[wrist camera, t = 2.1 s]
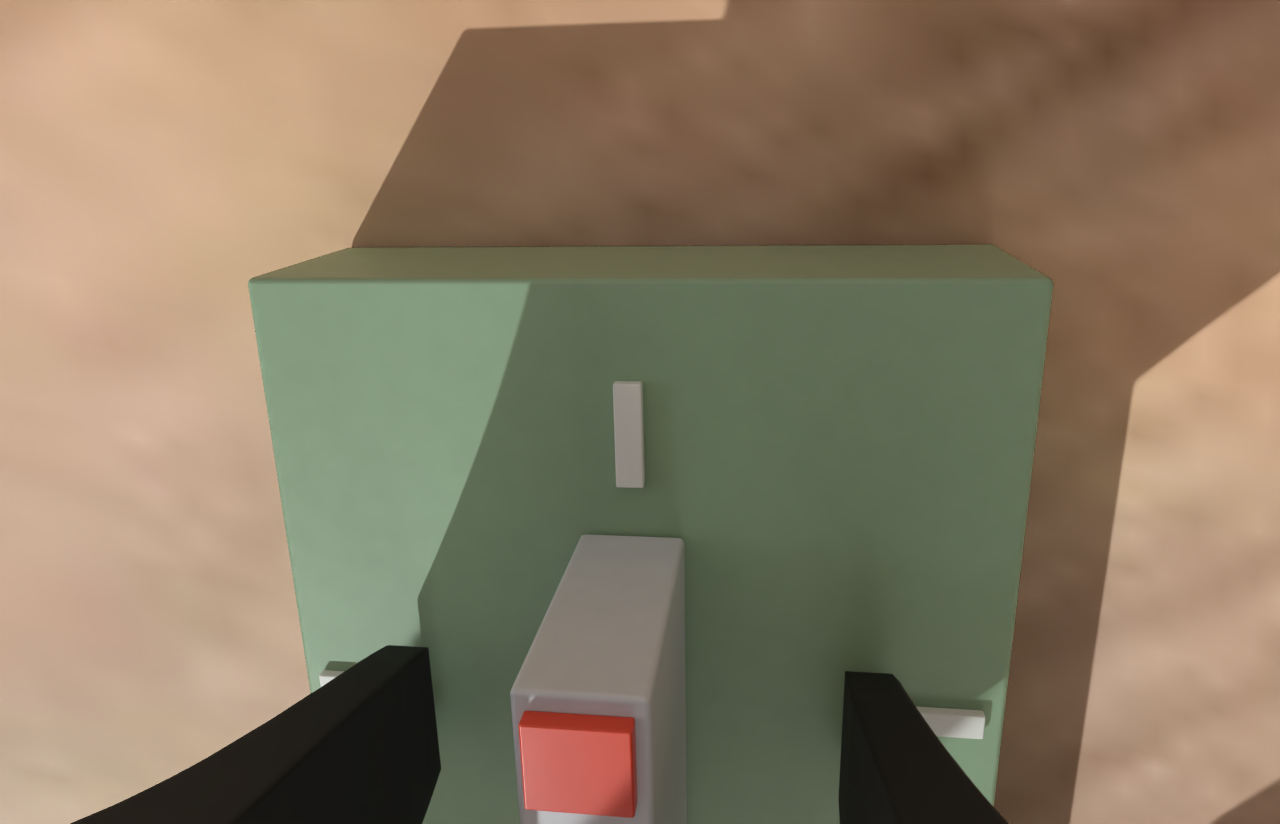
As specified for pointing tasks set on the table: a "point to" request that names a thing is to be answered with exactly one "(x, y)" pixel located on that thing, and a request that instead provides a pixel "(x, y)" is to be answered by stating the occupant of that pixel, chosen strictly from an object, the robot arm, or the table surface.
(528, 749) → the tap handle
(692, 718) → the plate
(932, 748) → the robot arm
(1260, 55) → the table surface
